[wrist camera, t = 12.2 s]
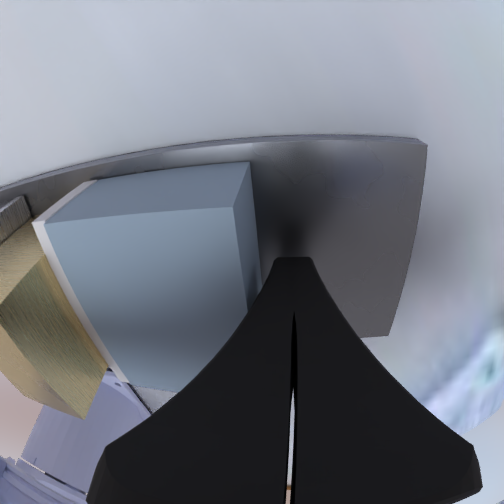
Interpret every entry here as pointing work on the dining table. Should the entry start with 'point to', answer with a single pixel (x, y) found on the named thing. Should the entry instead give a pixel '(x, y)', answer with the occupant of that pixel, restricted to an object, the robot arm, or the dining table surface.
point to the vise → (292, 207)
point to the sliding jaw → (157, 266)
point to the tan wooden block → (43, 331)
